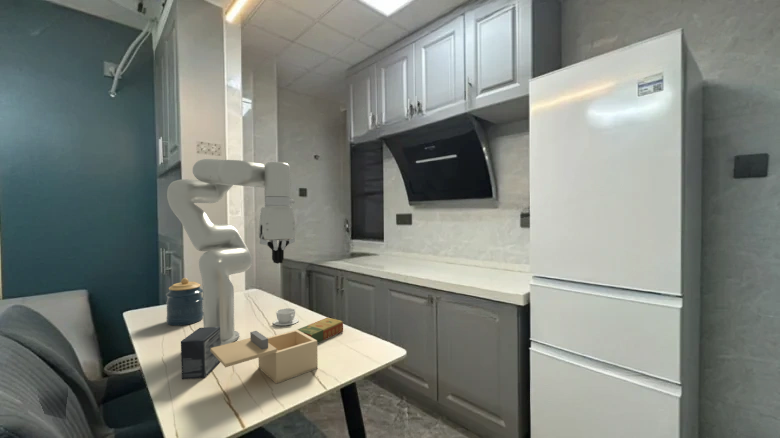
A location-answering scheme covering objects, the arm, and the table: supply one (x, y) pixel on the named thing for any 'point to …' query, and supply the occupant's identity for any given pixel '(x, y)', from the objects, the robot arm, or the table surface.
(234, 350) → the box lid
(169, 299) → the canister
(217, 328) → the small box
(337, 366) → the table surface
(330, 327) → the carton
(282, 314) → the teacup
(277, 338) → the shipping box
